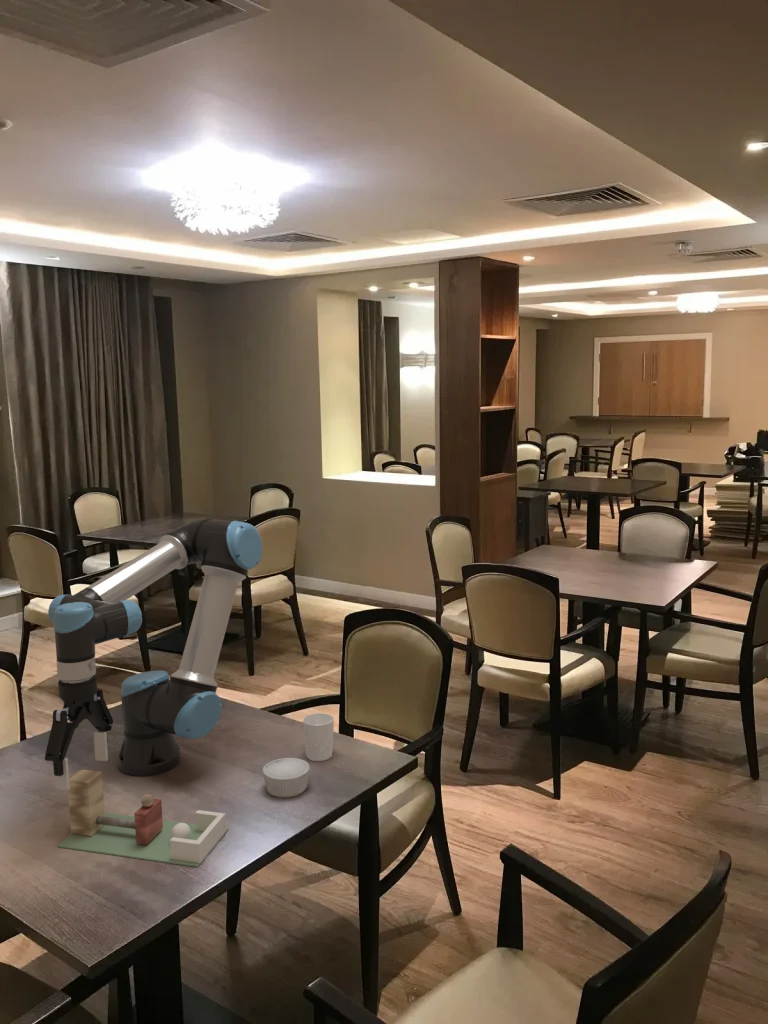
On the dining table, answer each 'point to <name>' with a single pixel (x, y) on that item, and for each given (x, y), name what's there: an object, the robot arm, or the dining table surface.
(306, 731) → the white cup
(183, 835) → the ball
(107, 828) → the pitch
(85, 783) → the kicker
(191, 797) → the dining table surface
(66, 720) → the robot arm
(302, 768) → the ramekin
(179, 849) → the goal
